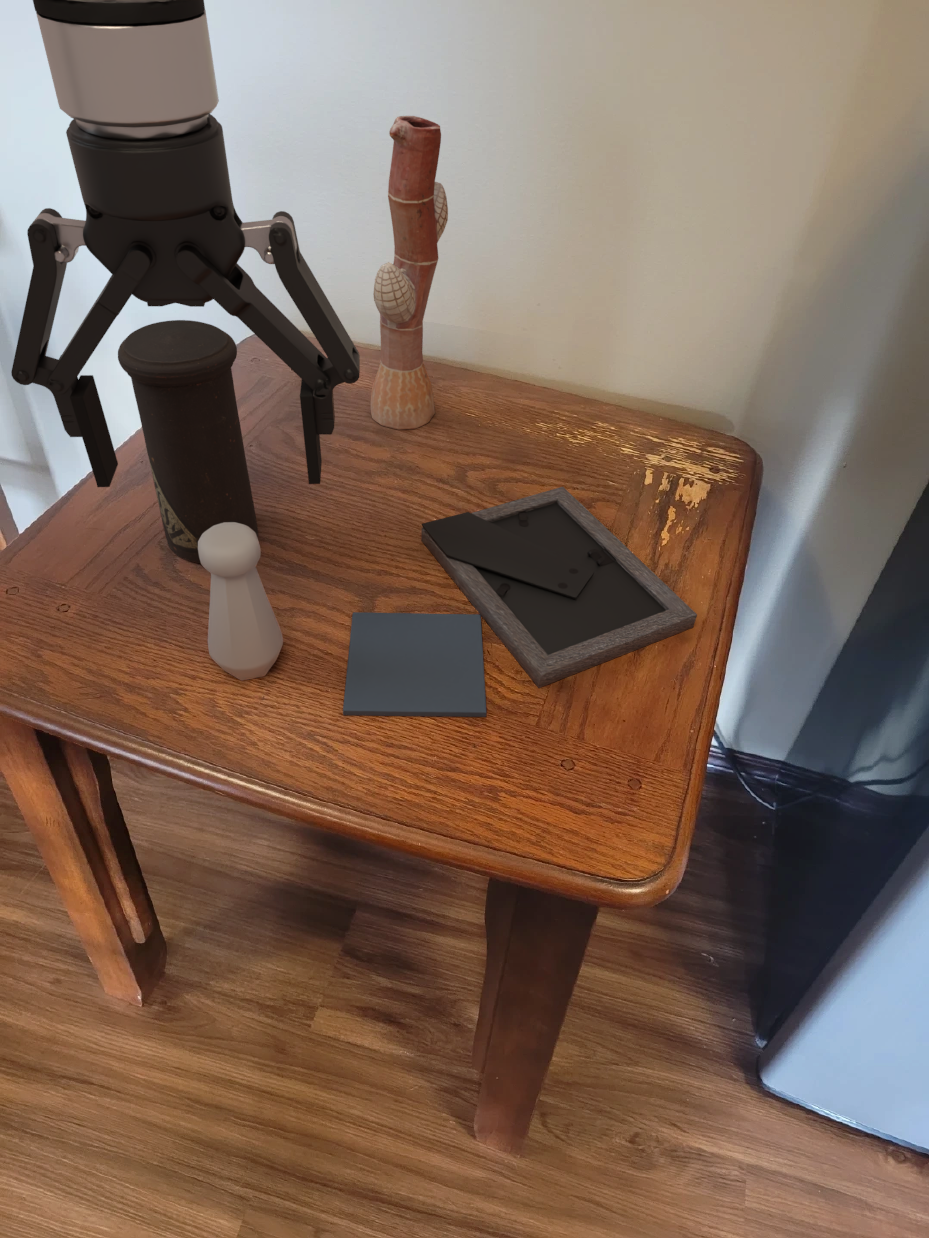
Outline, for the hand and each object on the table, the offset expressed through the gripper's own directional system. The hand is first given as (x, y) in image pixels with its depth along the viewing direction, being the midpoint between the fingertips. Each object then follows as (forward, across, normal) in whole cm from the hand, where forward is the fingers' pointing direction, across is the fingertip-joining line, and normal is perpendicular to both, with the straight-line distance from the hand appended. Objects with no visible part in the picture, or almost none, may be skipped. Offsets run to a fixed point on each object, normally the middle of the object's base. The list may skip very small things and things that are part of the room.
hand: (212, 474), depth 57 cm
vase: (+18, -14, -39) cm, 45 cm away
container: (+18, +5, -16) cm, 24 cm away
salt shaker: (+18, 0, +1) cm, 18 cm away
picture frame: (+18, -26, -8) cm, 33 cm away
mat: (+18, -14, +2) cm, 22 cm away
